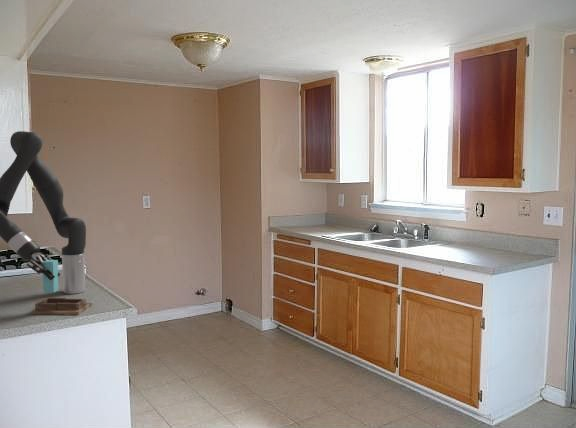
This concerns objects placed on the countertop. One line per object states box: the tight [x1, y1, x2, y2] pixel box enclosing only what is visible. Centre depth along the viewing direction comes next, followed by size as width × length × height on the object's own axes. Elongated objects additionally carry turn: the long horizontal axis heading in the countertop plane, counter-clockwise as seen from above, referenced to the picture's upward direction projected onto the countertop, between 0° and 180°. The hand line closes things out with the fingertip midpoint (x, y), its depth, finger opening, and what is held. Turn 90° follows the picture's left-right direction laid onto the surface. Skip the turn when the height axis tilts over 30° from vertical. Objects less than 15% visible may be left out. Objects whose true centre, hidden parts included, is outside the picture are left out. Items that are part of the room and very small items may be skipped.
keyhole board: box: [30, 297, 93, 316], centre depth 204 cm, size 13×18×4 cm
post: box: [42, 259, 60, 293], centre depth 202 cm, size 4×4×12 cm
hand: (55, 277), depth 202 cm, fingers closed on post, 4 cm apart
